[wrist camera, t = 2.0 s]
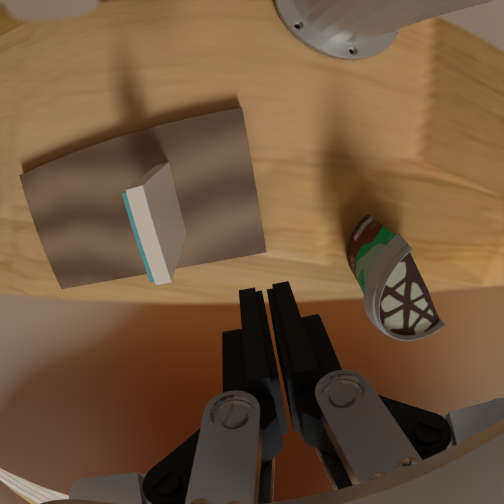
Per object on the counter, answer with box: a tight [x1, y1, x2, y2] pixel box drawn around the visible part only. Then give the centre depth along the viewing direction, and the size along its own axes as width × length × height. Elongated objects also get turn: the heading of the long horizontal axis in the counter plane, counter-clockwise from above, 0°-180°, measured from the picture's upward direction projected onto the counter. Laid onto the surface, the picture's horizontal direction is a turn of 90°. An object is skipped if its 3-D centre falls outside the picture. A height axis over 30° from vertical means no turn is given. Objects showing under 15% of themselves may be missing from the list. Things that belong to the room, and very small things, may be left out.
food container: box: [347, 215, 445, 341], centre depth 29 cm, size 12×6×10 cm, turn 39°
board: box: [19, 108, 266, 289], centre depth 28 cm, size 14×24×1 cm, turn 99°
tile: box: [122, 162, 186, 285], centre depth 23 cm, size 7×2×9 cm, turn 9°
